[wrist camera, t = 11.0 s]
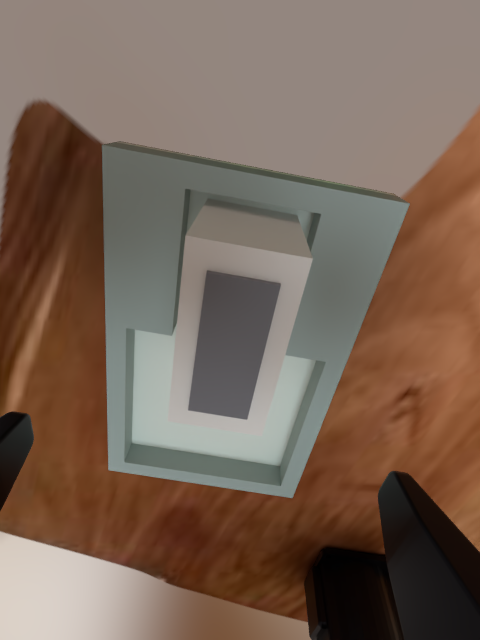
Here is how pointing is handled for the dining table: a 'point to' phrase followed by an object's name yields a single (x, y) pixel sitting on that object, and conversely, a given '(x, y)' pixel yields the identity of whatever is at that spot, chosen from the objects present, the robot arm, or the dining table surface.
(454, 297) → the dining table surface
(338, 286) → the keyhole tray
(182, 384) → the socket block
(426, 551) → the robot arm
